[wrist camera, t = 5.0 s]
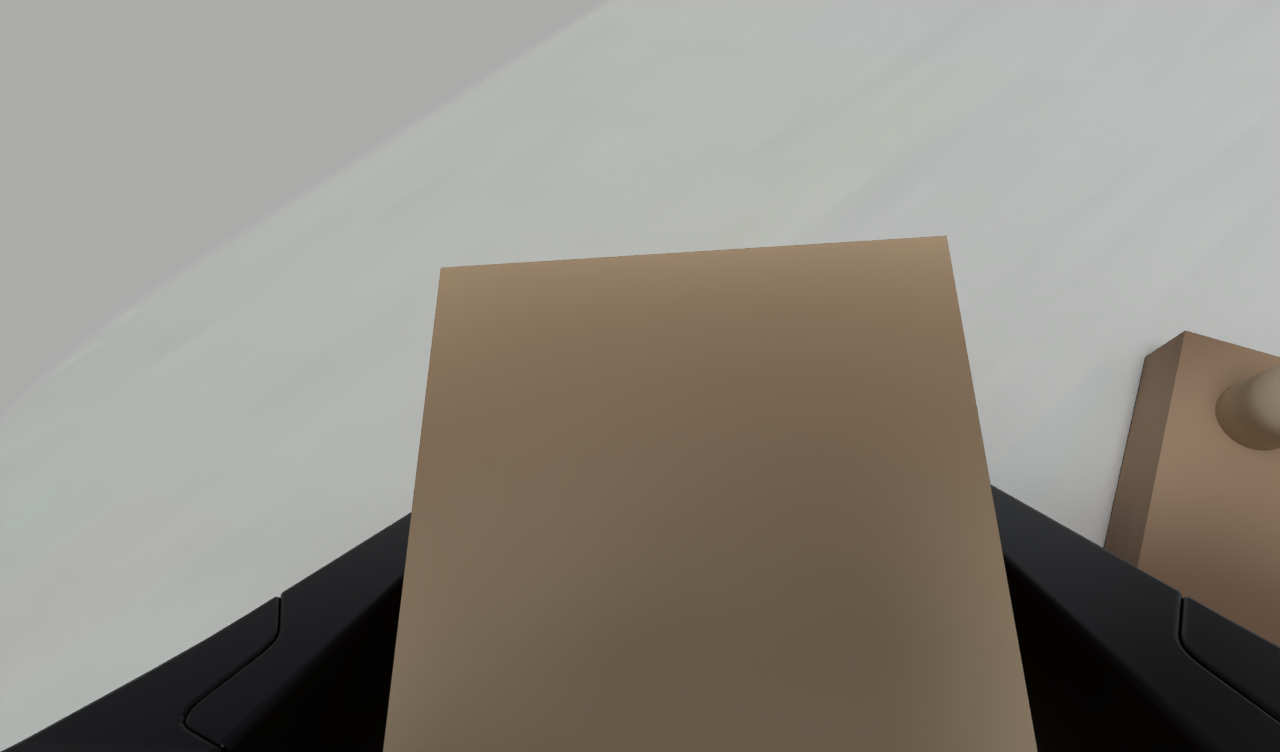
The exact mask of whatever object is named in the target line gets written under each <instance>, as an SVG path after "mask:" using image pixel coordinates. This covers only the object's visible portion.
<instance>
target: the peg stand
mask: <svg viewBox="0 0 1280 752" xmlns="http://www.w3.org/2000/svg"><path fill="white" fill-rule="evenodd" d="M1104 549H1106V550H1107V551H1109V552H1111V553H1113V554H1114V555H1116V556H1118V557H1120V558H1122V559H1123V560H1125V561H1127V562H1129V563H1130V564H1132V565H1134V566H1136V567H1137V568H1139V569H1141V570H1143V571H1145V572H1146V573H1148V574H1150V575H1152V576H1153V577H1155V578H1157V579H1159V580H1160V581H1162V582H1164V583H1166V584H1168V585H1169V586H1171V587H1173V588H1175V589H1176V590H1178V591H1180V592H1181V593H1182V599H1183V598H1184V597H1191V598H1193V599H1194V600H1196V601H1198V602H1200V603H1201V604H1203V605H1205V606H1207V607H1208V608H1210V609H1212V610H1214V611H1216V612H1217V613H1219V614H1221V615H1223V616H1224V617H1226V618H1228V619H1230V620H1232V621H1233V622H1235V623H1237V624H1239V625H1241V626H1243V627H1244V628H1246V629H1248V630H1250V631H1252V632H1254V633H1255V634H1257V635H1259V636H1261V637H1263V638H1265V639H1266V640H1268V641H1270V642H1272V643H1274V644H1276V645H1277V646H1279V647H1280V357H1277V356H1274V355H1270V354H1266V353H1263V352H1259V351H1256V350H1252V349H1249V348H1245V347H1242V346H1238V345H1235V344H1231V343H1227V342H1224V341H1220V340H1217V339H1213V338H1210V337H1206V336H1203V335H1199V334H1196V333H1192V332H1188V331H1184V332H1182V333H1181V334H1179V335H1178V336H1176V337H1175V338H1173V339H1172V340H1170V341H1169V342H1167V343H1166V344H1164V345H1163V346H1161V347H1160V348H1158V349H1157V350H1155V351H1154V352H1152V353H1151V354H1149V355H1148V356H1146V359H1145V363H1144V368H1143V372H1142V377H1141V382H1140V386H1139V391H1138V395H1137V400H1136V405H1135V409H1134V414H1133V418H1132V423H1131V427H1130V432H1129V437H1128V441H1127V446H1126V450H1125V455H1124V460H1123V464H1122V469H1121V473H1120V478H1119V482H1118V487H1117V492H1116V496H1115V501H1114V505H1113V510H1112V515H1111V519H1110V524H1109V528H1108V533H1107V537H1106V542H1105V547H1104Z"/></svg>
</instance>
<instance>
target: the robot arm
mask: <svg viewBox="0 0 1280 752" xmlns="http://www.w3.org/2000/svg"><path fill="white" fill-rule="evenodd" d="M990 485H991V484H990ZM991 491H992V496H993V502H994V508H995V513H996V519H997V525H998V530H999V536H1000V542H1001V547H1002V553H1003V559H1004V564H1005V570H1006V576H1007V581H1008V587H1009V593H1010V598H1011V604H1012V610H1013V615H1014V621H1015V627H1016V632H1017V638H1018V644H1019V649H1020V655H1021V661H1022V666H1023V672H1024V678H1025V683H1026V689H1027V695H1028V700H1029V706H1030V712H1031V717H1032V723H1033V729H1034V734H1035V740H1036V746H1037V751H1038V752H1280V647H1279V646H1277V645H1276V644H1274V643H1272V642H1270V641H1268V640H1266V639H1265V638H1263V637H1261V636H1259V635H1257V634H1255V633H1254V632H1252V631H1250V630H1248V629H1246V628H1244V627H1243V626H1241V625H1239V624H1237V623H1235V622H1233V621H1232V620H1230V619H1228V618H1226V617H1224V616H1223V615H1221V614H1219V613H1217V612H1216V611H1214V610H1212V609H1210V608H1208V607H1207V606H1205V605H1203V604H1201V603H1200V602H1198V601H1196V600H1194V599H1193V598H1191V597H1184V598H1183V599H1182V593H1181V592H1180V591H1178V590H1176V589H1175V588H1173V587H1171V586H1169V585H1168V584H1166V583H1164V582H1162V581H1160V580H1159V579H1157V578H1155V577H1153V576H1152V575H1150V574H1148V573H1146V572H1145V571H1143V570H1141V569H1139V568H1137V567H1136V566H1134V565H1132V564H1130V563H1129V562H1127V561H1125V560H1123V559H1122V558H1120V557H1118V556H1116V555H1114V554H1113V553H1111V552H1109V551H1107V550H1106V549H1104V548H1102V547H1100V546H1099V545H1097V544H1095V543H1093V542H1091V541H1090V540H1088V539H1086V538H1084V537H1083V536H1081V535H1079V534H1077V533H1076V532H1074V531H1072V530H1070V529H1069V528H1067V527H1065V526H1063V525H1061V524H1060V523H1058V522H1056V521H1054V520H1053V519H1051V518H1049V517H1047V516H1046V515H1044V514H1042V513H1040V512H1038V511H1037V510H1035V509H1033V508H1031V507H1030V506H1028V505H1026V504H1024V503H1023V502H1021V501H1019V500H1017V499H1015V498H1014V497H1012V496H1010V495H1008V494H1007V493H1005V492H1003V491H1001V490H1000V489H998V488H996V487H994V486H992V485H991ZM411 513H412V512H411ZM411 513H409V514H408V515H406V516H404V517H403V518H401V519H400V520H398V521H396V522H395V523H393V524H392V525H390V526H388V527H387V528H385V529H384V530H382V531H380V532H379V533H377V534H375V535H374V536H372V537H371V538H369V539H367V540H366V541H364V542H363V543H361V544H359V545H358V546H356V547H355V548H353V549H351V550H350V551H348V552H347V553H345V554H343V555H342V556H340V557H339V558H337V559H335V560H334V561H332V562H331V563H329V564H327V565H326V566H324V567H323V568H321V569H319V570H318V571H316V572H315V573H313V574H311V575H310V576H308V577H307V578H305V579H303V580H302V581H300V582H299V583H297V584H295V585H294V586H292V587H291V588H289V589H287V590H286V591H284V592H283V593H282V594H281V598H279V597H274V598H273V599H271V600H269V601H268V602H266V603H265V604H263V605H261V606H260V607H258V608H257V609H255V610H254V611H252V612H250V613H249V614H247V615H245V616H244V617H242V618H240V619H239V620H237V621H235V622H234V623H232V624H231V625H229V626H227V627H226V628H224V629H222V630H221V631H219V632H217V633H216V634H214V635H212V636H211V637H209V638H207V639H206V640H204V641H202V642H200V643H199V644H197V645H195V646H193V647H191V648H190V649H188V650H186V651H184V652H183V653H181V654H179V655H177V656H175V657H174V658H172V659H170V660H168V661H167V662H165V663H163V664H161V665H159V666H158V667H156V668H154V669H152V670H151V671H149V672H147V673H145V674H143V675H141V676H140V677H138V678H136V679H134V680H132V681H131V682H129V683H127V684H125V685H123V686H121V687H120V688H118V689H116V690H114V691H112V692H110V693H109V694H107V695H105V696H103V697H101V698H100V699H98V700H96V701H94V702H92V703H90V704H89V705H87V706H85V707H83V708H81V709H80V710H78V711H76V712H74V713H72V714H70V715H69V716H67V717H65V718H63V719H61V720H59V721H58V722H56V723H54V724H52V725H50V726H49V727H47V728H45V729H43V730H41V731H39V732H38V733H36V734H34V735H32V736H30V737H28V738H27V739H25V740H23V741H21V742H19V743H17V744H15V745H13V746H11V747H9V748H7V749H5V750H3V751H1V752H383V747H384V739H385V731H386V722H387V714H388V706H389V697H390V689H391V680H392V672H393V664H394V655H395V647H396V639H397V630H398V622H399V613H400V605H401V597H402V588H403V580H404V572H405V563H406V555H407V547H408V538H409V530H410V521H411Z"/></svg>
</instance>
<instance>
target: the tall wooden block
mask: <svg viewBox="0 0 1280 752" xmlns="http://www.w3.org/2000/svg"><path fill="white" fill-rule="evenodd" d="M383 752H1038V751H1037V746H1036V740H1035V734H1034V729H1033V723H1032V717H1031V712H1030V706H1029V700H1028V695H1027V689H1026V683H1025V678H1024V672H1023V666H1022V661H1021V655H1020V649H1019V644H1018V638H1017V632H1016V627H1015V621H1014V615H1013V610H1012V604H1011V598H1010V593H1009V587H1008V581H1007V576H1006V570H1005V564H1004V559H1003V553H1002V547H1001V542H1000V536H999V530H998V525H997V519H996V513H995V508H994V502H993V496H992V491H991V485H990V479H989V474H988V468H987V462H986V457H985V451H984V445H983V440H982V434H981V428H980V423H979V417H978V411H977V406H976V400H975V394H974V389H973V383H972V377H971V372H970V366H969V360H968V355H967V349H966V344H965V338H964V332H963V327H962V321H961V315H960V310H959V304H958V298H957V293H956V287H955V281H954V276H953V270H952V264H951V259H950V253H949V247H948V242H947V236H935V237H919V238H903V239H887V240H872V241H856V242H840V243H824V244H808V245H793V246H777V247H761V248H745V249H729V250H713V251H698V252H682V253H666V254H650V255H634V256H619V257H603V258H587V259H571V260H555V261H539V262H524V263H508V264H492V265H476V266H460V267H445V268H441V271H440V279H439V287H438V296H437V304H436V312H435V321H434V329H433V337H432V346H431V354H430V363H429V371H428V379H427V388H426V396H425V404H424V413H423V421H422V429H421V438H420V446H419V455H418V463H417V471H416V480H415V488H414V496H413V505H412V513H411V521H410V530H409V538H408V547H407V555H406V563H405V572H404V580H403V588H402V597H401V605H400V613H399V622H398V630H397V639H396V647H395V655H394V664H393V672H392V680H391V689H390V697H389V706H388V714H387V722H386V731H385V739H384V747H383Z"/></svg>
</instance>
